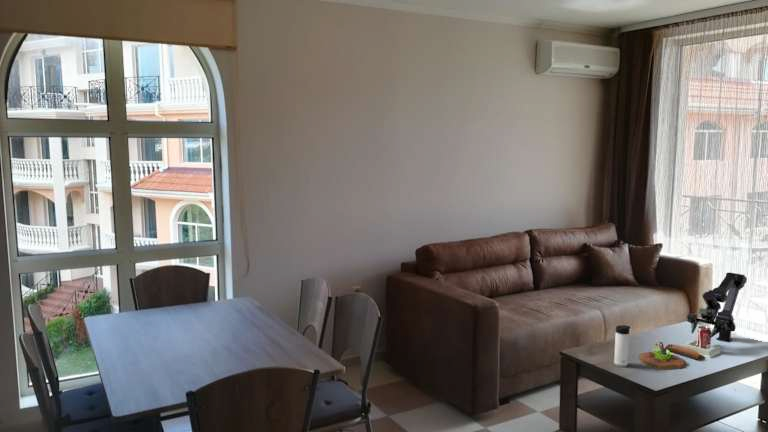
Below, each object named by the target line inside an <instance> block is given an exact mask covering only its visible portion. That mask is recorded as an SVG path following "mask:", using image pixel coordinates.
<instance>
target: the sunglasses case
mask: <svg viewBox="0 0 768 432" xmlns="http://www.w3.org/2000/svg"><path fill="white" fill-rule="evenodd" d="M671 345H673V346H674V348H671ZM667 349H668V351H670V352H673V353H676V354H680V355H682V356H686V357H688V358H692V359H694V360H697V361H701V360H705V359H707V357H705V356H703V355H701V354H699V353H698V352H696V351H695V350H692V349H689V348H685V347H683V346H681V345H678V344H672V343H671V344H670V346H668V347H667Z"/></svg>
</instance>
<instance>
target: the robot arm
mask: <svg viewBox="0 0 768 432" xmlns="http://www.w3.org/2000/svg"><path fill="white" fill-rule="evenodd" d="M747 280H748V279H747V276H745V274H741V273H734V272H730V271H729V272H726V273H725V277H724V278H723V280H721V283H720V284H719V285H718V286H717V287H715V288H713V289H709V290H708V291H705V292H704V293H703V294H702V300H703V301H704V303H705V304H706V308H703V307H700V308H699V311H698V315H699V316H700V317H698V316H697V314H693V313H688V314H687V316H686V318H687V321H688V322H689V323H690V324H691V334H694V332H695V331H696V330H697V328H698V323H699V322H700V323H702V324H708V325H711V326H713V328H712V330H711V335H710V338H711V339H712V338H713V337H715V336H716V335H718V337H716V338H715V339H716V340H718V341H722V342H725V343H729V342H732V341H733V338H732V332H736V327H737V326H736V324H735V322H734V321H735V319H734V316H733V311H734V308H735V305H736V301H737V298H738V295H739V291H740V290H742V289H743V288H744V287H745V284H746V283H747ZM721 303H723V304H724V305H723V307H721ZM722 308H723V309H722ZM721 309H722V310H721ZM720 310H721V311H720Z"/></svg>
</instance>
